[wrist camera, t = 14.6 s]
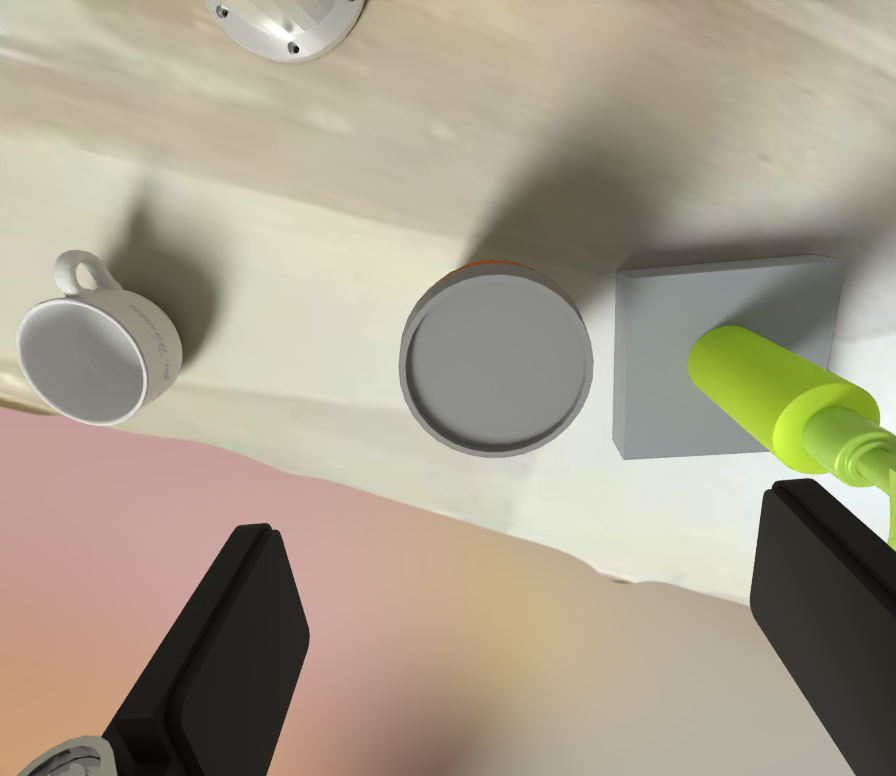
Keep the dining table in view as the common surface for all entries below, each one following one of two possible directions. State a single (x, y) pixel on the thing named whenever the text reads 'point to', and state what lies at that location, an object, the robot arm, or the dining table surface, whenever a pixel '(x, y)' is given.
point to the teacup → (97, 347)
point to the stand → (689, 318)
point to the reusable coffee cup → (495, 360)
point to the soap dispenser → (797, 410)
